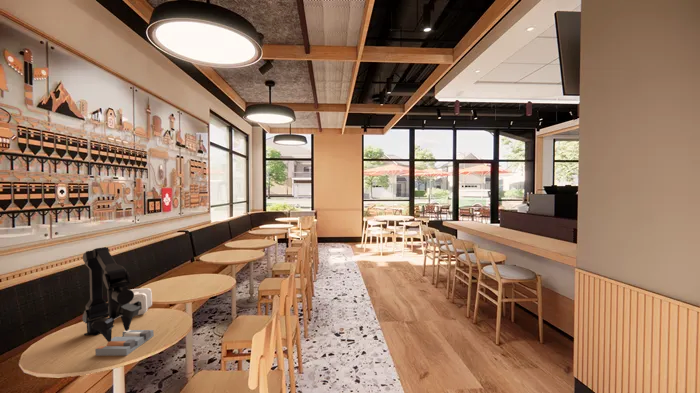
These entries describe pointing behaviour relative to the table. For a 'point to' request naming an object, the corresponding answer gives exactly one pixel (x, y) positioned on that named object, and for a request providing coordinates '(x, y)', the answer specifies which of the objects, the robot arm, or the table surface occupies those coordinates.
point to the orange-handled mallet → (122, 343)
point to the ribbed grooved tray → (122, 349)
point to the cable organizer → (142, 298)
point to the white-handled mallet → (139, 334)
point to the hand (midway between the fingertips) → (118, 335)
